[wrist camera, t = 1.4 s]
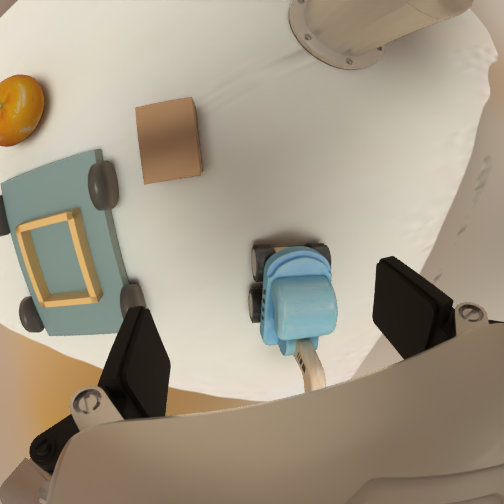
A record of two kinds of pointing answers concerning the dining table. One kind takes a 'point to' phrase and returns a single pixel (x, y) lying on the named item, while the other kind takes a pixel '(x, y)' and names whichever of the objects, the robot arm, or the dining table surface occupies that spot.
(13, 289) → the dining table surface
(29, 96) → the fruit
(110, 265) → the chassis
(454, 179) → the dining table surface
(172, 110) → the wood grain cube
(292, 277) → the toy excavator
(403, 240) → the dining table surface
